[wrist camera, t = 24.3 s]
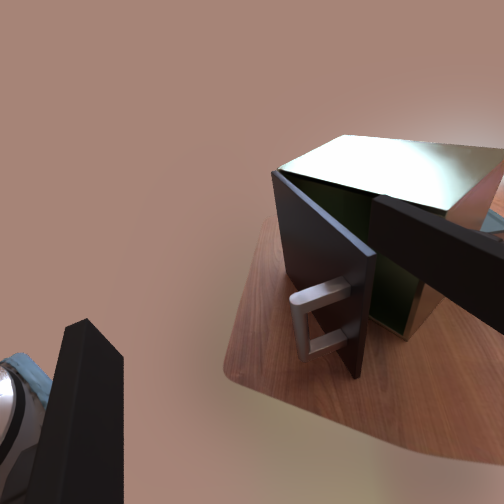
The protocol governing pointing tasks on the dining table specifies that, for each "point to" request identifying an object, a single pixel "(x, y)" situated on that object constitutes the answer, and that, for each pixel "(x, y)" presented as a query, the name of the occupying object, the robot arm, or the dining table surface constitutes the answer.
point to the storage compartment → (407, 190)
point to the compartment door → (324, 277)
